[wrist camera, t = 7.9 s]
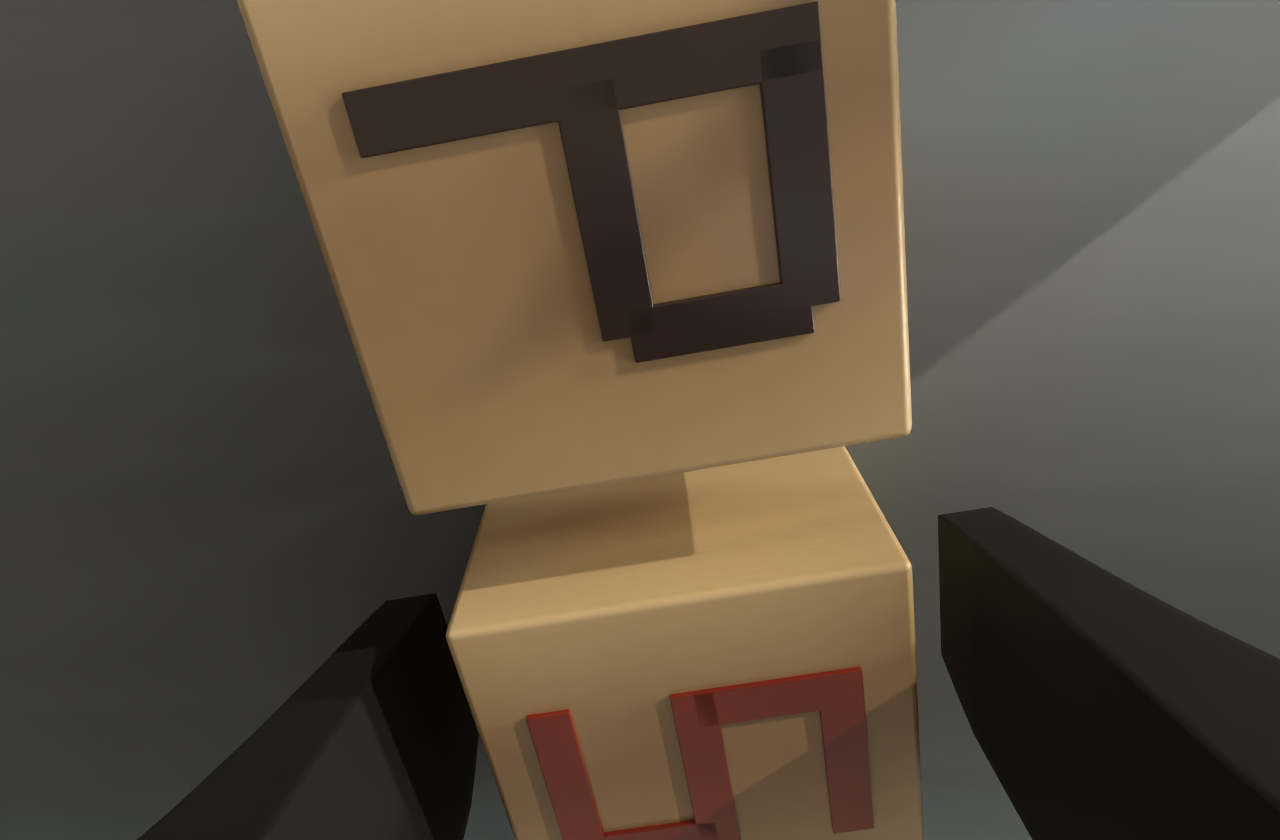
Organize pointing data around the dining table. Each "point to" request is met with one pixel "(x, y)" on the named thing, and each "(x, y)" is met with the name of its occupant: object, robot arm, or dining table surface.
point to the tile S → (696, 658)
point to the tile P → (602, 228)
